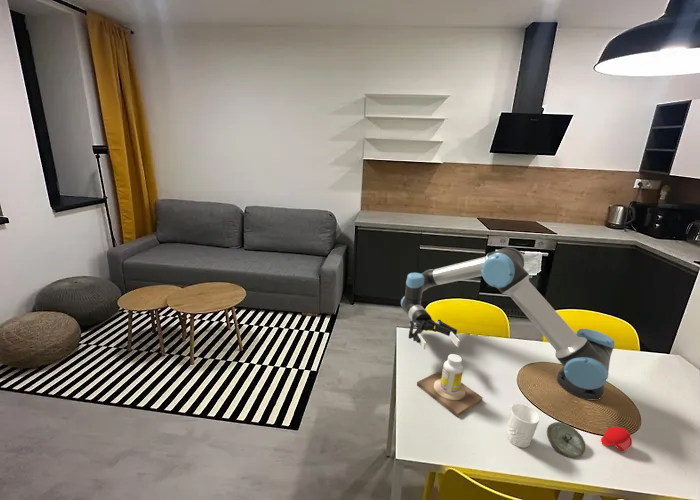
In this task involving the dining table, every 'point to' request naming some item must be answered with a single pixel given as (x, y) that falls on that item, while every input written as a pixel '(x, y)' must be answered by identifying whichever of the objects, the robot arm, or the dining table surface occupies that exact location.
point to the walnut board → (450, 401)
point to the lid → (566, 440)
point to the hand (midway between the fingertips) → (441, 345)
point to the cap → (617, 438)
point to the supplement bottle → (452, 374)
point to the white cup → (521, 425)
